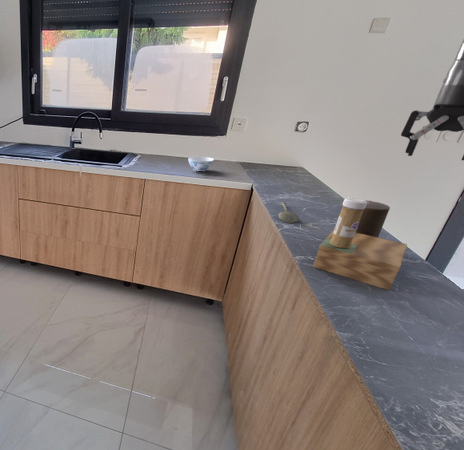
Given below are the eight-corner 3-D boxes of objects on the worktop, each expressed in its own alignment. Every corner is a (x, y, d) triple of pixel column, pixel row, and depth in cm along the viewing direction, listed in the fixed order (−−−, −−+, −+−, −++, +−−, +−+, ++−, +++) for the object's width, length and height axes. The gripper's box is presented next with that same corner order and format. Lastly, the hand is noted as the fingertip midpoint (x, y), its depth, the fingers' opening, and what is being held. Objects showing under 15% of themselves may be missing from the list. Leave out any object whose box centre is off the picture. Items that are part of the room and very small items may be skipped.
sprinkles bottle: (344, 250, 84) (362, 203, 79) (325, 243, 88) (341, 198, 82) (353, 246, 86) (371, 200, 80) (334, 240, 89) (350, 196, 84)
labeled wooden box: (397, 265, 89) (407, 243, 87) (389, 290, 79) (400, 266, 76) (328, 247, 101) (335, 227, 98) (312, 267, 90) (320, 245, 87)
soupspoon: (277, 223, 122) (297, 226, 119) (280, 215, 120) (300, 218, 117) (274, 204, 139) (291, 206, 136) (276, 197, 137) (294, 199, 134)
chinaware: (187, 172, 196) (188, 160, 193) (186, 167, 209) (188, 156, 206) (213, 174, 191) (215, 161, 188) (210, 168, 204) (212, 157, 201)
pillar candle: (363, 252, 97) (381, 207, 91) (328, 239, 106) (343, 198, 100) (381, 246, 101) (399, 202, 95) (346, 234, 109) (361, 193, 103)
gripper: (522, 81, 64) (482, 159, 71) (422, 83, 74) (395, 152, 81) (527, 81, 60) (484, 164, 66) (419, 84, 70) (391, 156, 76)
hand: (435, 157), depth 73 cm, fingers open, 8 cm apart
